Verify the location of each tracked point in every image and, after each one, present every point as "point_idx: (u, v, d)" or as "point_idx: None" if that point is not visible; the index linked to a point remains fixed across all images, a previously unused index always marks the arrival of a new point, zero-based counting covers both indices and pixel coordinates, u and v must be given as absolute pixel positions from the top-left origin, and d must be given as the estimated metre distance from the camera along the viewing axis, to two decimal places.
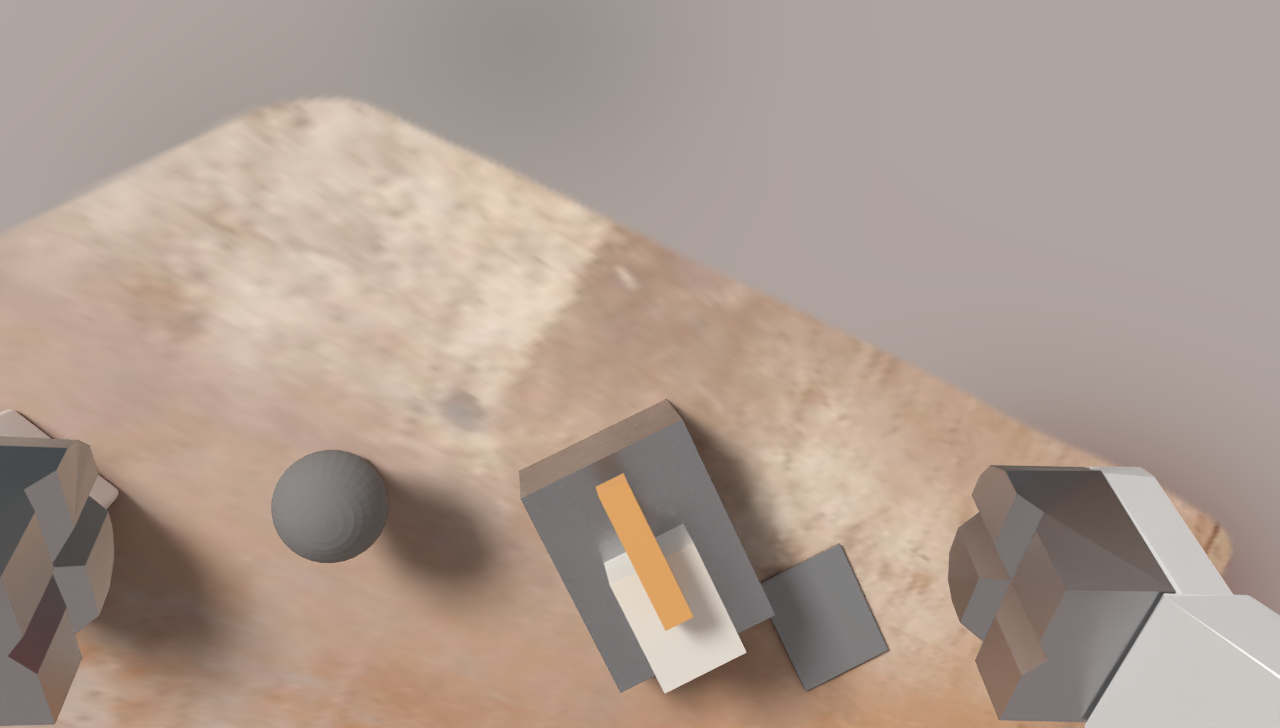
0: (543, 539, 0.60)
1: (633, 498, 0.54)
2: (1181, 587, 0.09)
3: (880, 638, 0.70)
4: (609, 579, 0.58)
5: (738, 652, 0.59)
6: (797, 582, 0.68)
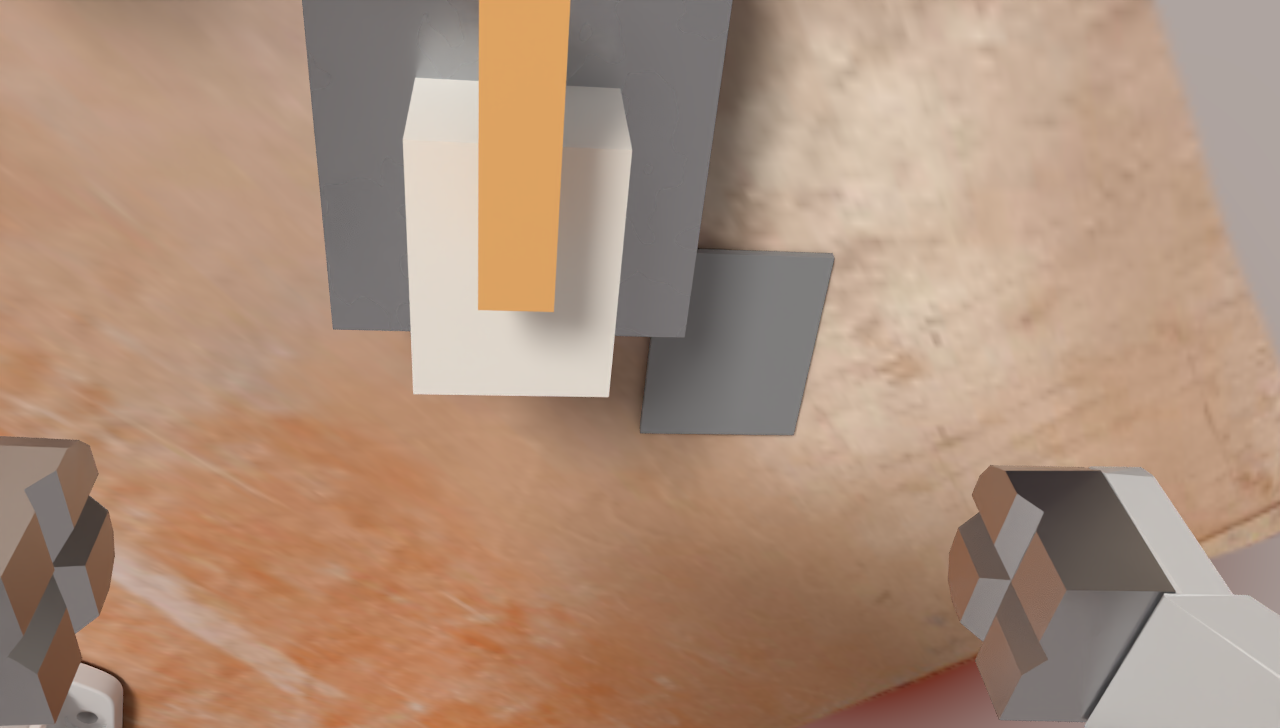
0: None
1: None
2: (1181, 588, 0.09)
3: (793, 415, 0.41)
4: (408, 125, 0.24)
5: (593, 390, 0.28)
6: (730, 278, 0.37)
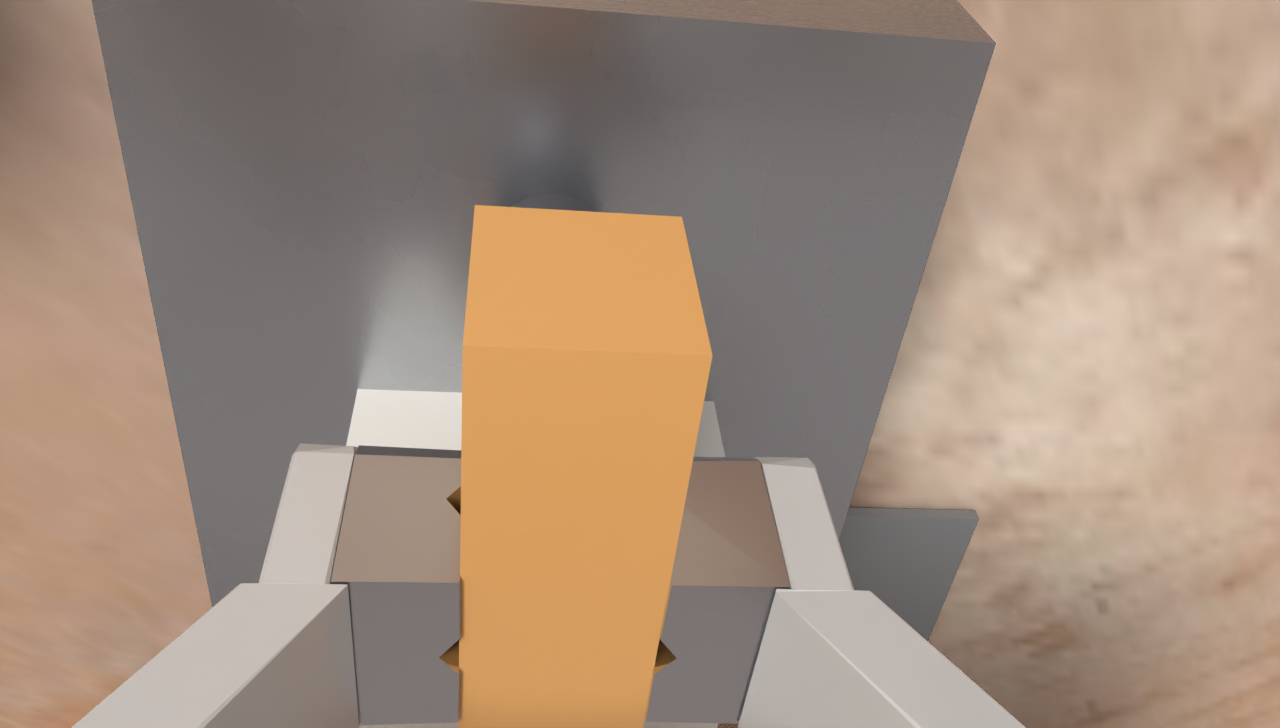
0: (139, 197, 0.13)
1: (681, 456, 0.07)
2: (799, 583, 0.08)
3: None
4: None
5: None
6: None
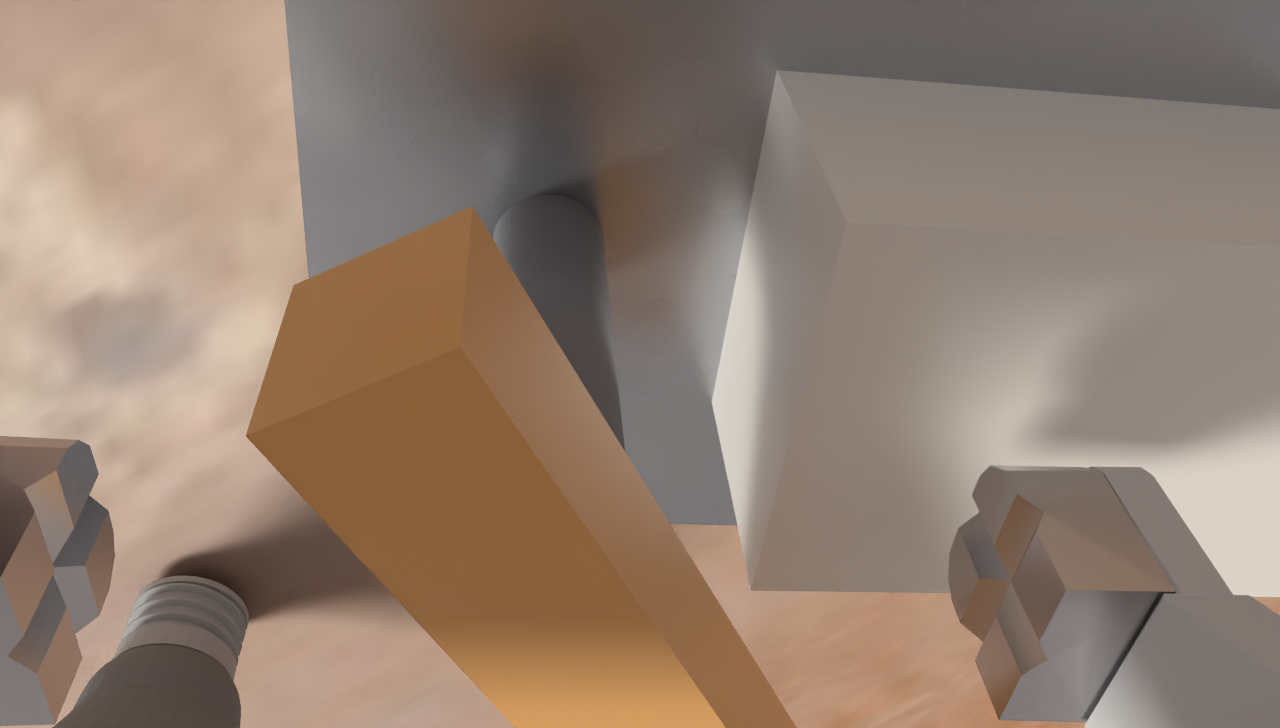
0: None
1: (515, 444, 0.07)
2: (1182, 588, 0.09)
3: None
4: (741, 539, 0.13)
5: None
6: None
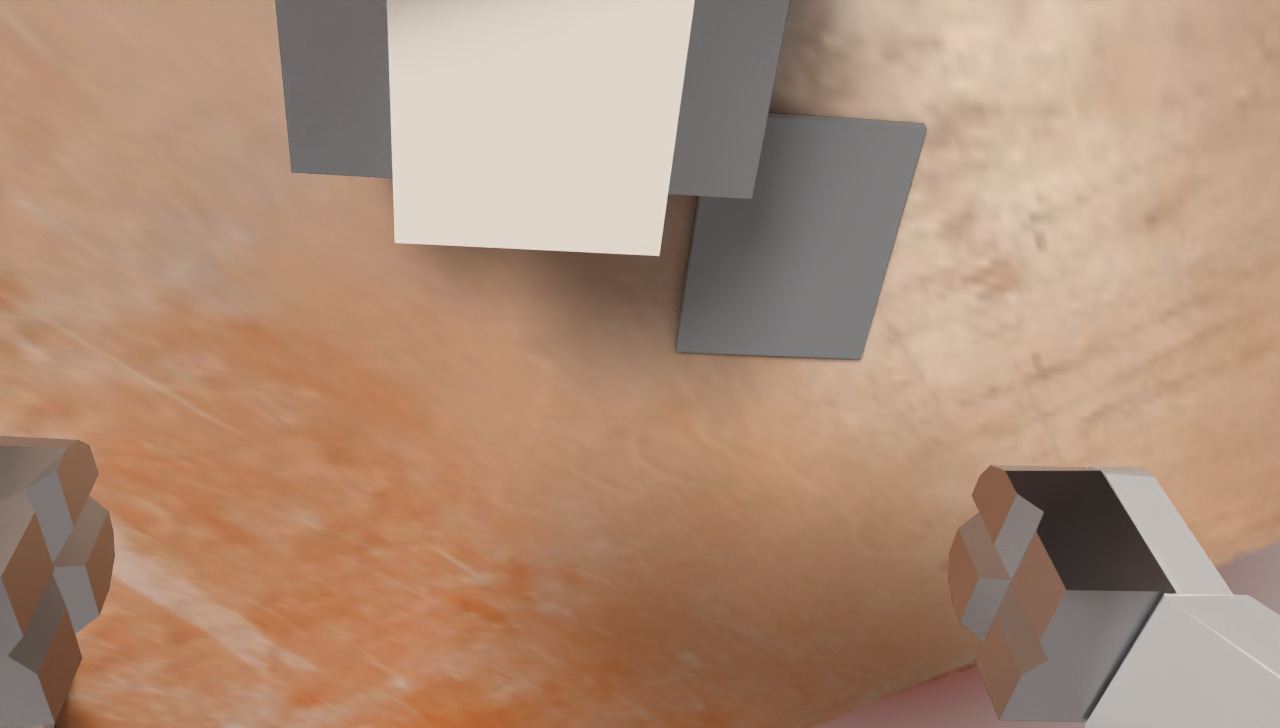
0: None
1: None
2: (1181, 587, 0.09)
3: (861, 334, 0.34)
4: None
5: (639, 245, 0.21)
6: (796, 152, 0.30)
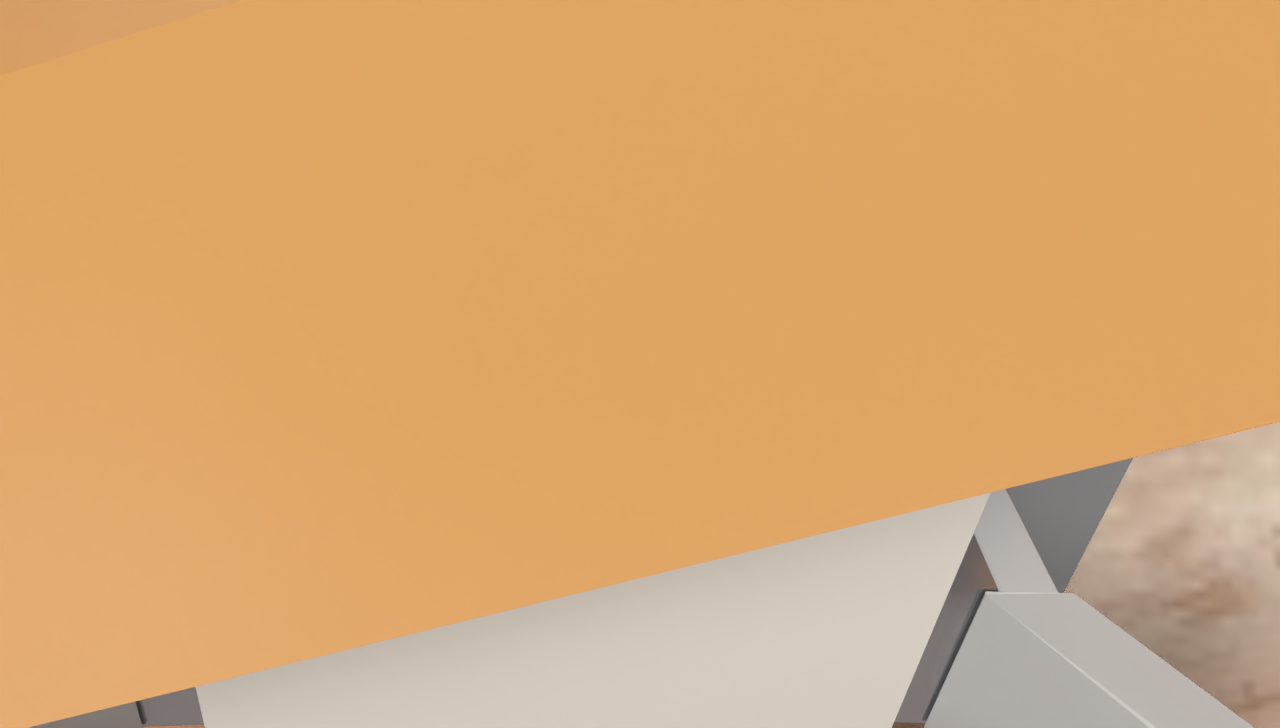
0: None
1: None
2: (1005, 585, 0.09)
3: None
4: None
5: None
6: None
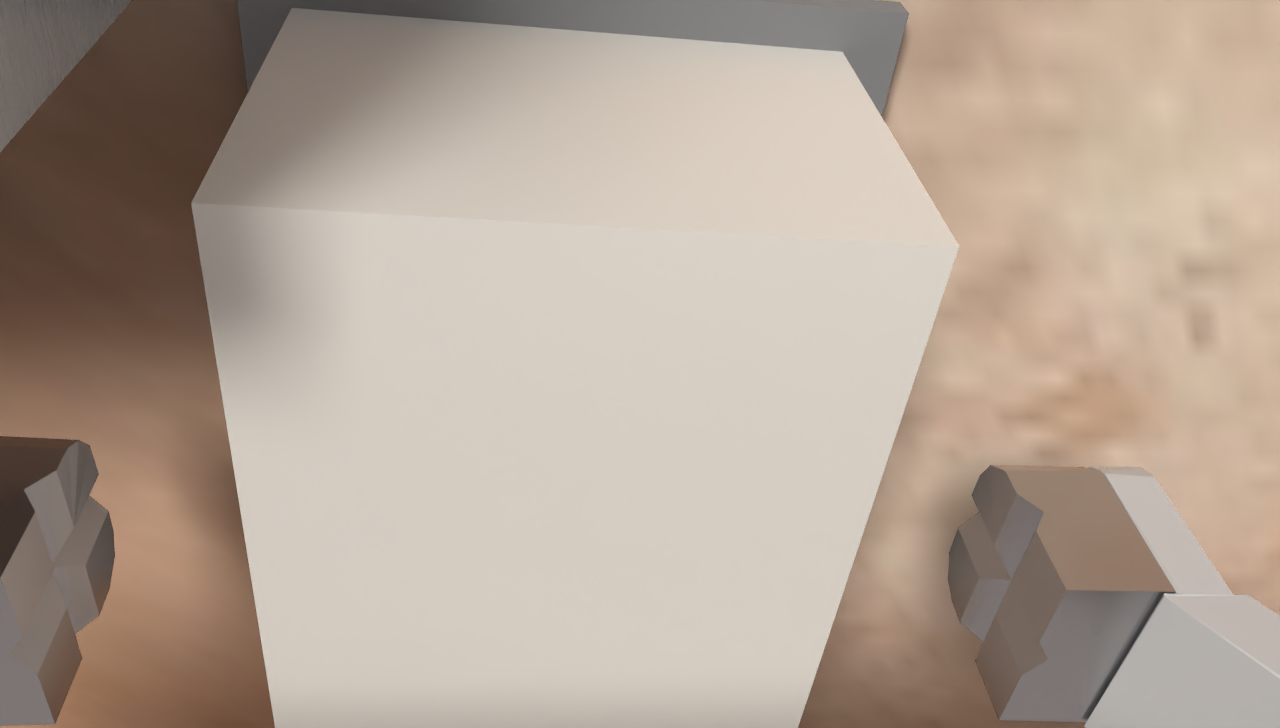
0: None
1: None
2: (1181, 588, 0.09)
3: None
4: (229, 147, 0.07)
5: None
6: None
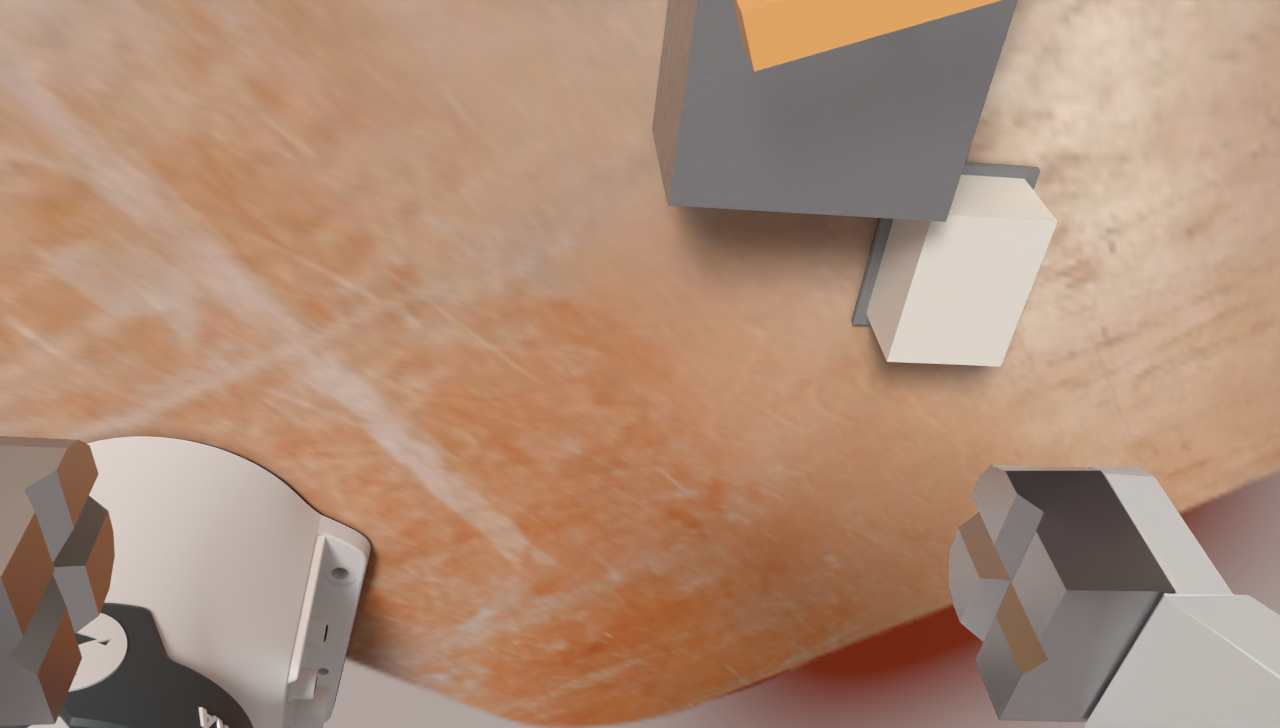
0: None
1: None
2: (1181, 587, 0.09)
3: None
4: None
5: (993, 362, 0.45)
6: None
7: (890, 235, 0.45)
